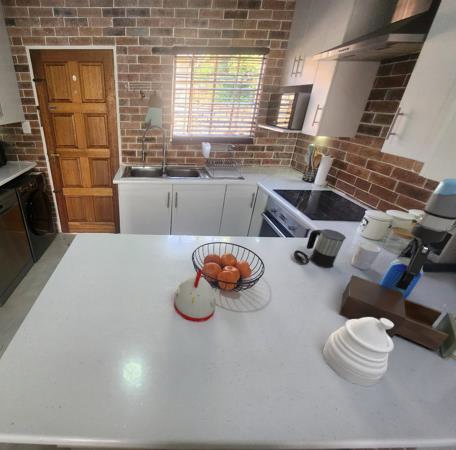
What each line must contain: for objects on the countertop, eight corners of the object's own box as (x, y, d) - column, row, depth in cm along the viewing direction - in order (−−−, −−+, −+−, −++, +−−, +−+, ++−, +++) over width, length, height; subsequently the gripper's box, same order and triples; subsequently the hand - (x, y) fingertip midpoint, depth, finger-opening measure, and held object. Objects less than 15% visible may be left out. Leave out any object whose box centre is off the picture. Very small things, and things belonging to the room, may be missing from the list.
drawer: (466, 339, 76) (480, 323, 73) (478, 371, 67) (494, 355, 64) (388, 309, 87) (397, 294, 84) (389, 332, 77) (399, 317, 74)
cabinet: (391, 311, 87) (403, 292, 83) (392, 338, 77) (406, 318, 73) (343, 292, 95) (352, 274, 91) (338, 314, 85) (348, 295, 81)
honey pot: (390, 379, 65) (427, 331, 57) (354, 392, 62) (388, 344, 53) (345, 338, 76) (370, 293, 68) (312, 348, 73) (334, 302, 64)
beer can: (374, 296, 93) (394, 262, 86) (375, 286, 99) (394, 252, 92) (403, 308, 88) (427, 272, 81) (403, 296, 94) (426, 262, 87)
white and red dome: (169, 314, 82) (172, 278, 75) (180, 288, 94) (183, 255, 87) (211, 327, 78) (218, 290, 71) (217, 298, 90) (223, 264, 83)
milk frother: (337, 264, 112) (349, 235, 105) (320, 276, 104) (333, 245, 97) (305, 249, 122) (315, 223, 116) (288, 259, 114) (297, 231, 107)
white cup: (349, 258, 117) (357, 240, 112) (370, 264, 113) (379, 246, 108) (349, 266, 111) (358, 247, 106) (371, 273, 107) (381, 253, 102)
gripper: (413, 212, 91) (386, 261, 100) (419, 236, 74) (386, 291, 84) (441, 218, 86) (410, 268, 96) (456, 245, 70) (416, 302, 79)
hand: (399, 279), depth 90 cm, fingers open, 12 cm apart
